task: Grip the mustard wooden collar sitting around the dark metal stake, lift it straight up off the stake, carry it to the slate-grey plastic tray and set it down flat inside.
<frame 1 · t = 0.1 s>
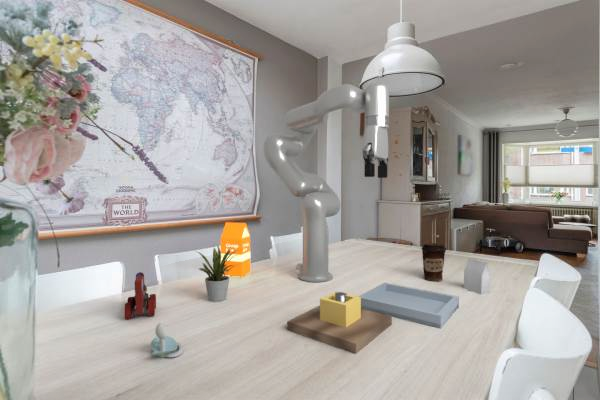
hand: (376, 177, 106), 37 cm above the table, tool pointing down, fingers open, 9 cm apart
orange juice: (235, 274, 127), on the table
pacifier: (167, 354, 66), on the table
metal stake: (340, 306, 78), on the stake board, point 5 cm above the table
tray: (408, 307, 91), on the table
coffee cup: (433, 279, 120), on the table
house plant: (221, 300, 98), on the table
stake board: (340, 327, 78), on the table
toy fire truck: (141, 314, 87), on the table
grey house shaped block: (476, 291, 107), on the table
collar: (340, 318, 78), point 2 cm above the table, touching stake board
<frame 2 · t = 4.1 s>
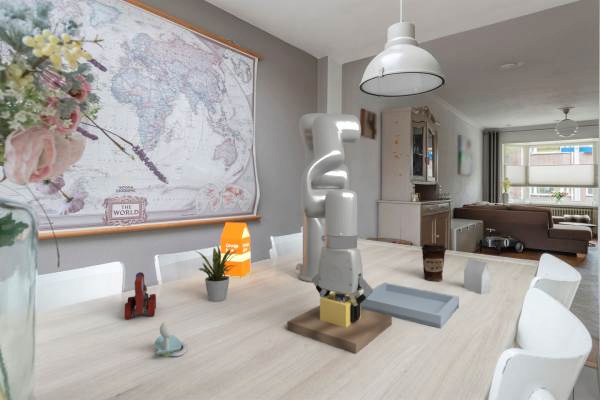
hand: (340, 316, 78), 3 cm above the table, tool pointing down, fingers closed on collar, 7 cm apart
collar: (340, 318, 78), point 2 cm above the table, touching gripper, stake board
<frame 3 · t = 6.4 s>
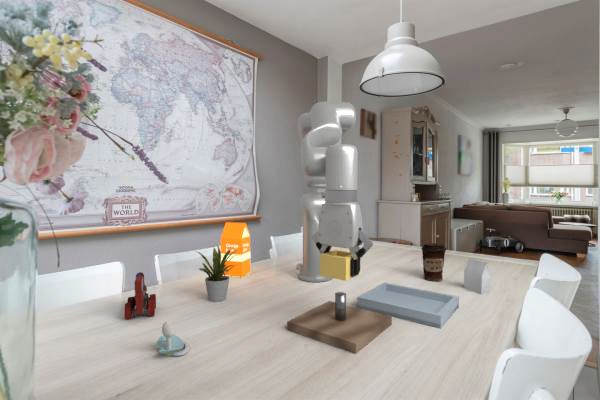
hand: (340, 272, 78), 13 cm above the table, tool pointing down, fingers closed on collar, 7 cm apart
collar: (340, 274, 78), point 12 cm above the table, touching gripper
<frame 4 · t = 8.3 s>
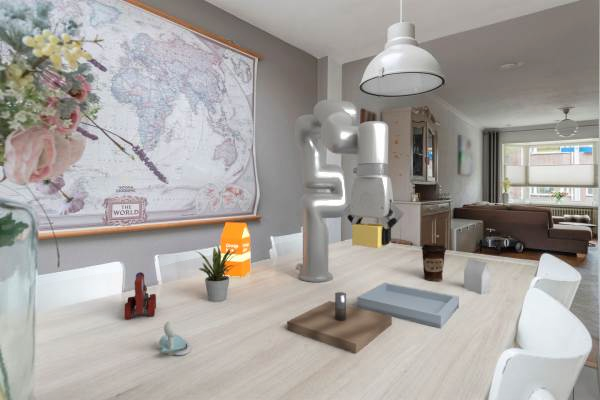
hand: (371, 242, 83), 19 cm above the table, tool pointing down, fingers closed on collar, 7 cm apart
collar: (371, 244, 83), point 19 cm above the table, touching gripper
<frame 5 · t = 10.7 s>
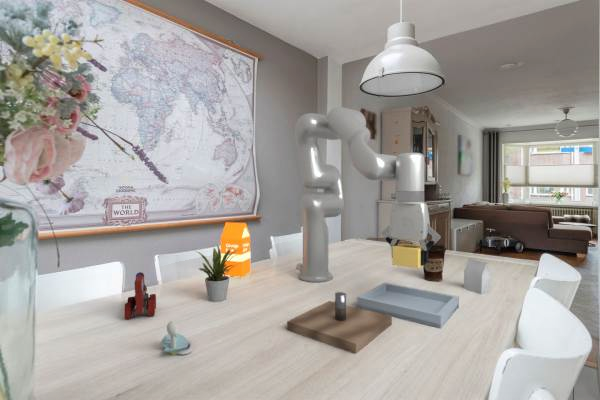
hand: (409, 262, 91), 13 cm above the table, tool pointing down, fingers closed on collar, 7 cm apart
collar: (409, 264, 91), point 12 cm above the table, touching gripper
when the fingers open (3 cm above the table, at t = 12.9 s): collar drops 2 cm, resting on tray.
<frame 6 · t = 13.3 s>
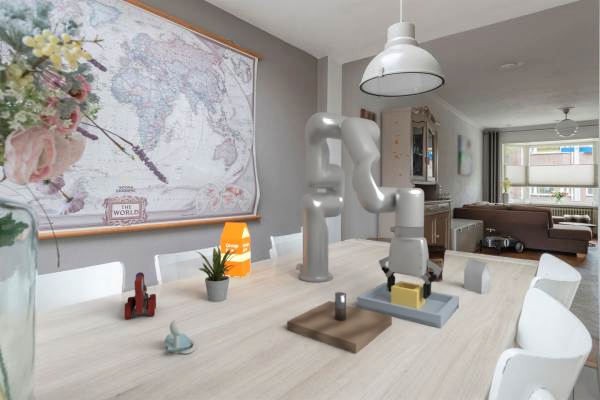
hand: (408, 293, 91), 4 cm above the table, tool pointing down, fingers open, 9 cm apart
collar: (408, 303, 91), point 1 cm above the table, touching tray
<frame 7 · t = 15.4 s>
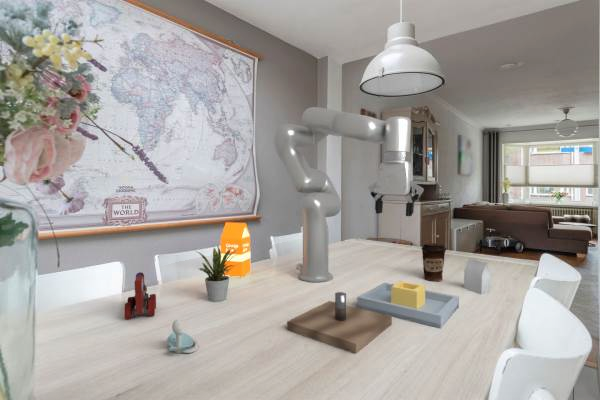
hand: (393, 214, 101), 25 cm above the table, tool pointing down, fingers open, 9 cm apart
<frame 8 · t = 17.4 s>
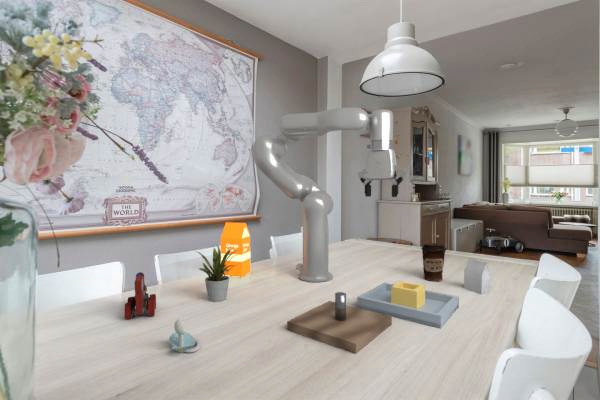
hand: (381, 196, 114), 30 cm above the table, tool pointing down, fingers open, 9 cm apart
at the end: collar inside the target area on the tray (0.0 cm from its centre), point 1.0 cm above the tray's base; collar tilted 0°; the gripper is holding nothing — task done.
